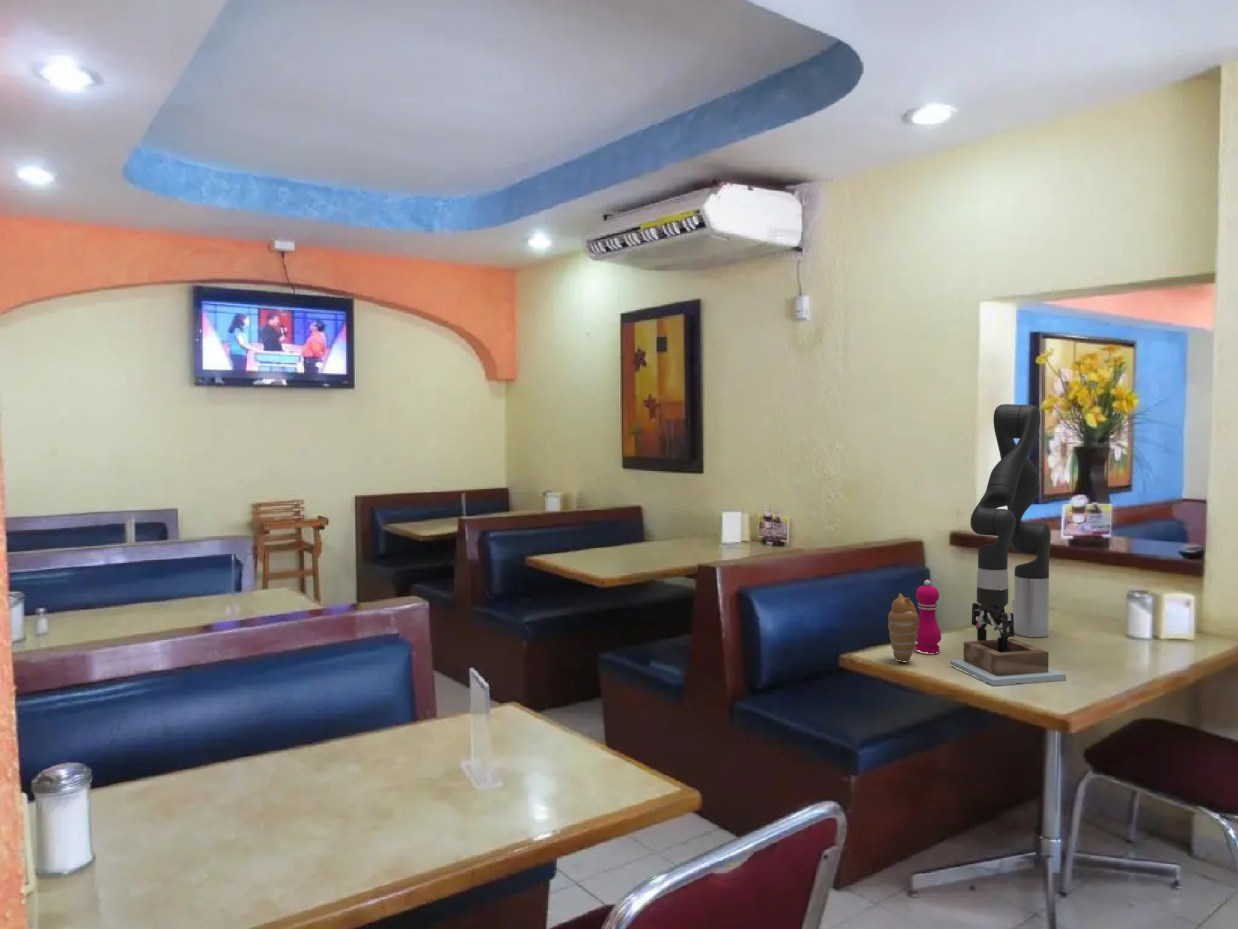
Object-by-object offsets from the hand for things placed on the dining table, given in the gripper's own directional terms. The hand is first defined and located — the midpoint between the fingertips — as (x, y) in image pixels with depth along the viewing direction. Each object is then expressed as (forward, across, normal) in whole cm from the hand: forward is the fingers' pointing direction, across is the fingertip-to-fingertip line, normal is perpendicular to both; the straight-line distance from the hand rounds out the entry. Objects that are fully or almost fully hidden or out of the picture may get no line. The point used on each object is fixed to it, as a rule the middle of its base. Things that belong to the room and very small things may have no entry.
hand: (992, 647), depth 224 cm
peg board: (+5, +6, 0) cm, 8 cm away
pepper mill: (+5, -17, -8) cm, 20 cm away
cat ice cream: (+5, -9, -20) cm, 23 cm away
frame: (+3, +5, 0) cm, 6 cm away
